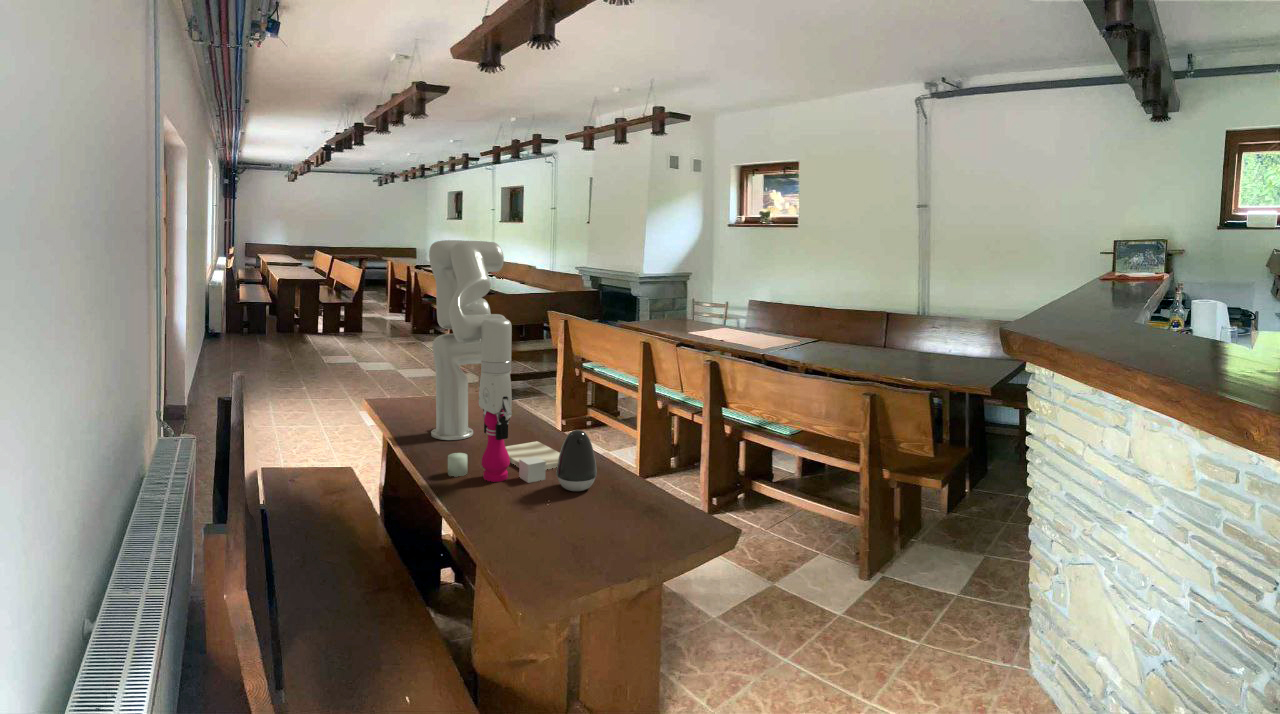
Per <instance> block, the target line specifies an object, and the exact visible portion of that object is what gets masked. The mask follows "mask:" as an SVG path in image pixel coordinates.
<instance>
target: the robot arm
mask: <svg viewBox="0 0 1280 714" xmlns="http://www.w3.org/2000/svg"><path fill="white" fill-rule="evenodd" d="M428 257H429V259H428V260H429V264H430V268H431V272H432V274H433V277H434V280H435V288H436V318H437V319H436V320H437V323H438V325H439V327H440V328H442V329H445V330H452V333H444V334H443V333H442V334H440V335H438V336H436V337H435V338H434V339H433V342H432V344H431V346H432V348H431V349H432V354H433V355H432V356H433V361H434V368H435V406H436V407H435V413H436V415H435V417H436V419H435V420H436V421H435V423H436V426H435V427H436V428H433V429H432V430H431V431H430V433H431V434H430V435H431V437H432V438H433V439H436V440H442V441H458V440H464V439H469V438H470V437H472V436H473V435H474V430H473V429H472V428H471V427H469V380H468V379H469V378H468V377H467V375H466V373H465V372H464V371H463V370H462V369H461V368H460V366H463V365H475V364H480V367H481V368H480V378H479V389H478V405H479V407H480V409H482V410H483V414H482V416H483V418H484V417H485V414H486V413H487V412H490V413H492V414H496V418H497V424H496V440H502V439H504V440H506V439H508V438H509V424H510V419H511V418H512V415H513V412H512V403H513V402H512V401H513V400H512V398H513V397H512V393H513V392H512V379H511V374H512V340H513V339H512V336H513V333H512V331H513V330H512V329H513V328H512V327H513V326H512V322H511V321H510V320H509V319H507V318H506V317H505V316H504V315H503V314H499V313H491V307H490V304H489V303H488V301H487V300H486V299H485V298H483V297H485V296H486V295H487V294H488V293H489V292H490V290H491V287H492V285H491V283H492V282H491V281H490V277H489V273H498V272H500V271H501V270H502V268H503V266H504V261H505V259H504V253H503V250H502V248H501V246H500V244H498V243H497V242H495V241H484V240H459V239H457V240H456V239H448V240H446V239H444V240H443V239H442V240H437V241H435V242H433V243H432V244H431V245H430V246H429V251H428ZM500 410H503V411H504V412H500ZM503 414H504V416H502V417H501V419H500V415H503ZM486 428H487V426H486V424H485V422H484V421H483V432H484V434H486Z"/></svg>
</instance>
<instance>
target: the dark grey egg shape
mask: <svg viewBox="0 0 1280 714" xmlns="http://www.w3.org/2000/svg"><path fill="white" fill-rule="evenodd" d="M560 448H561V449H560V452H559V453H560V455H559V458H558V463H557V468H556V472H555V474H556V477H557V480H558V482H559V484H560V485H561V487H562V488H563V489H565V490H567V491H571V492H583V491H586V490H588V489H589V488H591V486H593V484H594V482H595V480H596V477H597V475H598V473H597V472H598V469H597V462H596V456H595V451H594V447H593V445H592V441H591V439H590V438H589V436H588V434H587V433H586V432H585V431H583V430H581V429H574V430H571V431H570V432H569V433H568V434H567V435H566V437H565V438H564V441H563V443H562V446H561V447H560Z"/></svg>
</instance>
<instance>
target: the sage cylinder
mask: <svg viewBox="0 0 1280 714" xmlns="http://www.w3.org/2000/svg"><path fill="white" fill-rule="evenodd" d="M466 474H467V475H468V454H467V453H464V452H453V453H450V454H448V455H447V475H448V476H449V477H451V476H454V477H453V478H459V477H458V476H463V477H465V476H464V475H466ZM467 475H466V476H467Z"/></svg>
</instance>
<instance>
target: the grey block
mask: <svg viewBox="0 0 1280 714" xmlns="http://www.w3.org/2000/svg"><path fill="white" fill-rule="evenodd" d="M518 468H519V470H518V471H519V472H518V478H519V477H520V478H519V479H521V480H523V481H524V482H525V483H528V484H530V483H536V482H540V480H541V481H544V480H546V471H547V470H546V461H544V460H542V459H540V458H538V457H536V456H535V457H530V458H524V459H519V467H518Z"/></svg>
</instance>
